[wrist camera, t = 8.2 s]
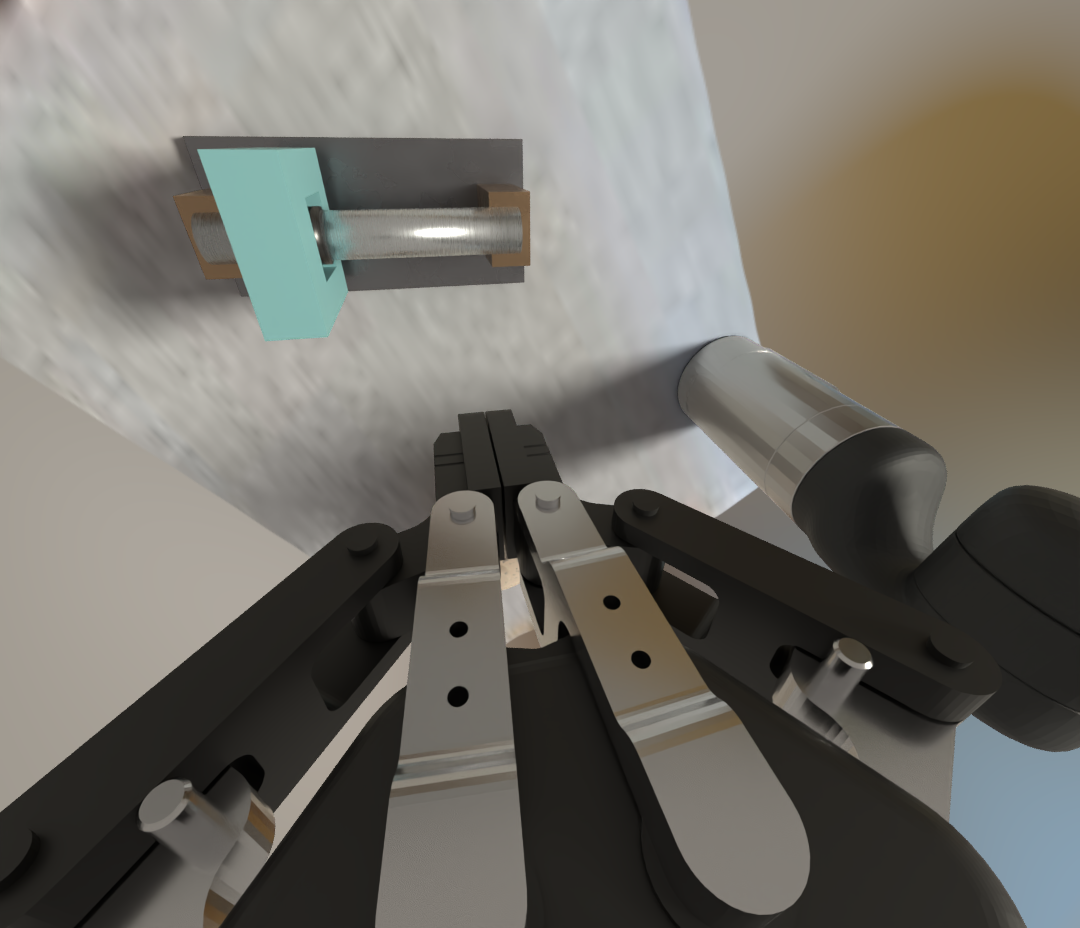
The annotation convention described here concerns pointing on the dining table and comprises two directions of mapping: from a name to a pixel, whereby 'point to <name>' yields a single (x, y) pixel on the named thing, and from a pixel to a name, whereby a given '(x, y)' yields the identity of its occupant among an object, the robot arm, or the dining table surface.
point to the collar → (277, 236)
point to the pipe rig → (392, 210)
